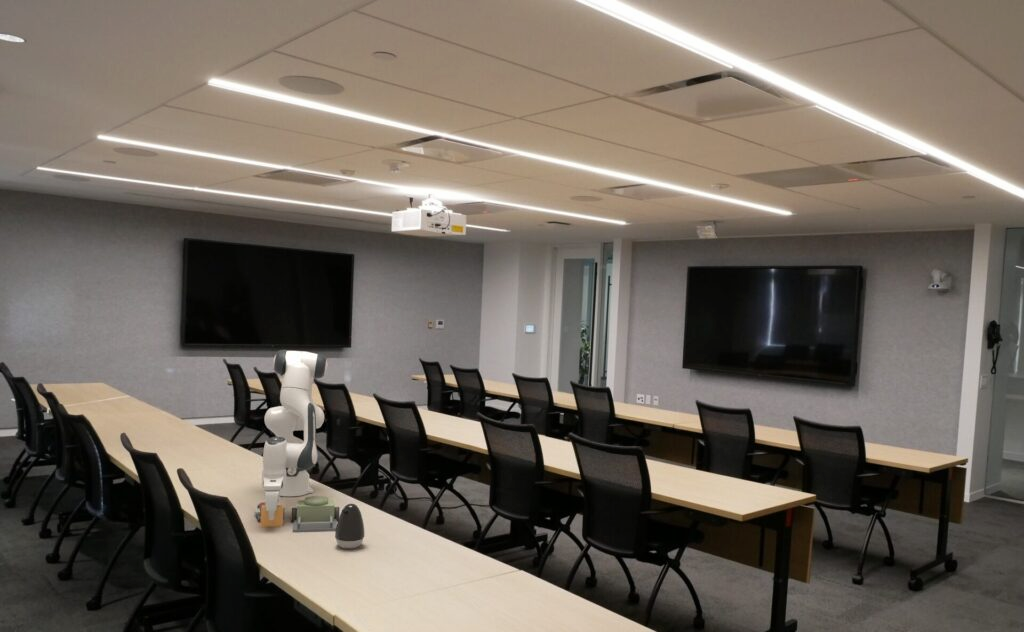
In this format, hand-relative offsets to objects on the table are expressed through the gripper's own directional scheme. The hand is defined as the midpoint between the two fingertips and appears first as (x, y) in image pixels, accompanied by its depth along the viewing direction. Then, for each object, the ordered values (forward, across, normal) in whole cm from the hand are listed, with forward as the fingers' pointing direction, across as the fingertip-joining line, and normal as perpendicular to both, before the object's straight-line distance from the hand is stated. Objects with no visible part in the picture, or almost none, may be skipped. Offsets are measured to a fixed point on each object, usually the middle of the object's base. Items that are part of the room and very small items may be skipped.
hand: (272, 516), depth 276 cm
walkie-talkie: (+4, -13, -3) cm, 14 cm away
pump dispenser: (+3, +29, +28) cm, 40 cm away
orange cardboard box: (+3, 0, 0) cm, 3 cm away
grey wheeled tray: (+3, +1, +16) cm, 16 cm away
